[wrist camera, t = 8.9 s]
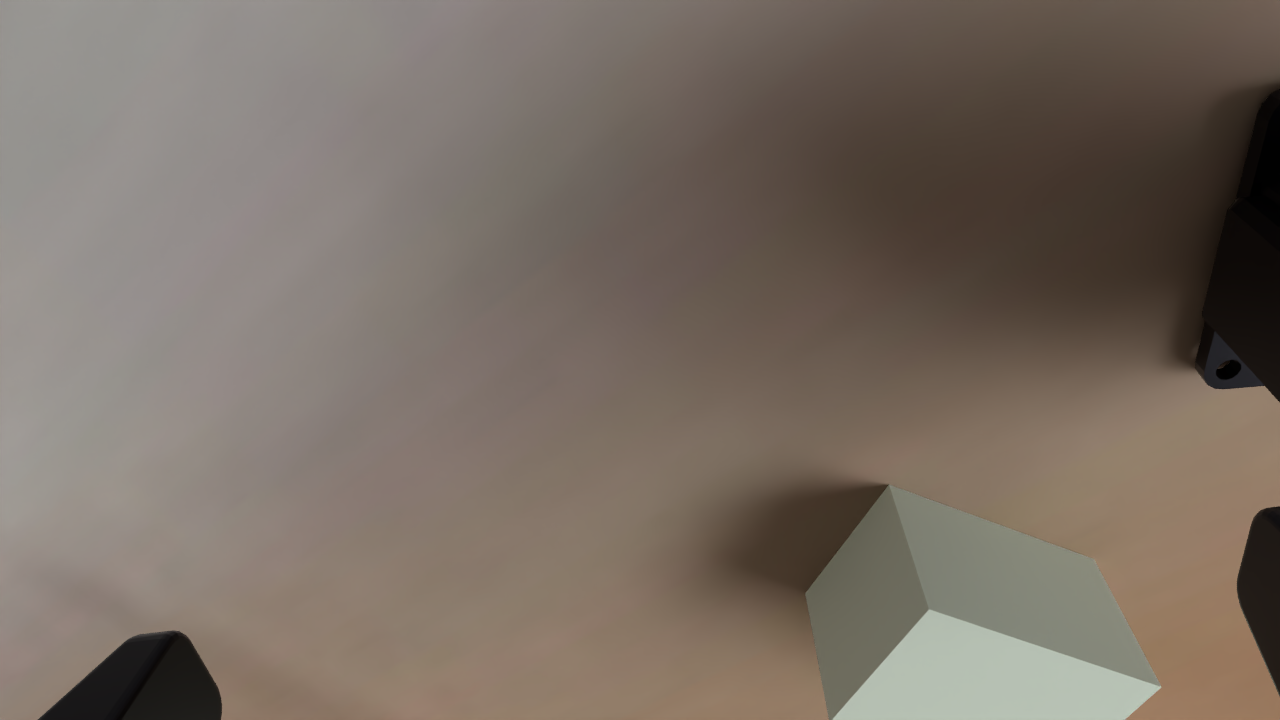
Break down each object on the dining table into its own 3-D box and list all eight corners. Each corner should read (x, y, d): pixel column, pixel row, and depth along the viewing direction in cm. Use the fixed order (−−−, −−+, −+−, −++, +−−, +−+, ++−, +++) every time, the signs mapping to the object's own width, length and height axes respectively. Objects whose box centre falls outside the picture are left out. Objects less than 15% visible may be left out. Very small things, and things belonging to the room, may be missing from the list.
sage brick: (1091, 555, 25) (1161, 687, 22) (997, 652, 27) (1048, 787, 24) (887, 481, 24) (929, 608, 20) (804, 589, 26) (829, 722, 22)
